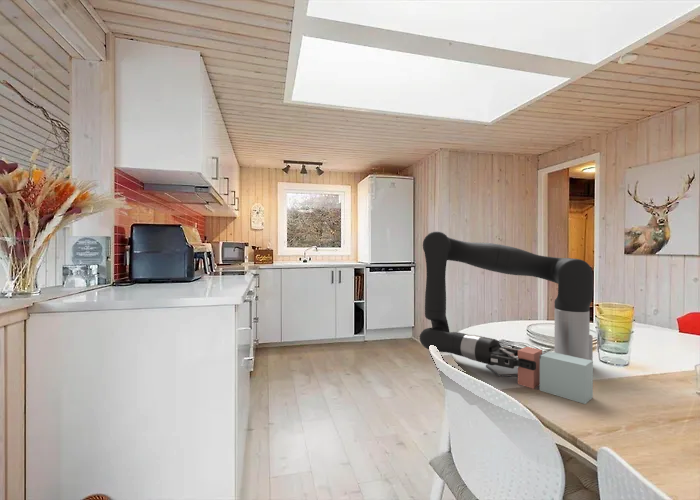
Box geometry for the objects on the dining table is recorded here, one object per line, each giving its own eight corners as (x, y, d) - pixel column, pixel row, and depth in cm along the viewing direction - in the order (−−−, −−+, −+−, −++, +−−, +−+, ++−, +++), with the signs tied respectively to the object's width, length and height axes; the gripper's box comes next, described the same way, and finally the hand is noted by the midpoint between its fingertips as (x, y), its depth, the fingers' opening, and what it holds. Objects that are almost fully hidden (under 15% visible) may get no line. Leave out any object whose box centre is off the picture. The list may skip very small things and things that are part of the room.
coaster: (510, 365, 105) (510, 363, 105) (526, 375, 97) (526, 373, 97) (485, 366, 104) (485, 364, 104) (499, 376, 96) (499, 374, 96)
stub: (517, 383, 91) (517, 350, 91) (526, 378, 94) (526, 346, 94) (533, 388, 88) (533, 354, 88) (542, 383, 91) (542, 349, 91)
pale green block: (535, 389, 87) (535, 354, 87) (544, 383, 91) (544, 350, 91) (585, 404, 79) (585, 365, 79) (592, 397, 83) (592, 360, 82)
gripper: (467, 340, 97) (528, 355, 84) (492, 332, 107) (550, 344, 94) (467, 366, 97) (528, 385, 84) (492, 356, 107) (550, 371, 94)
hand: (540, 363), depth 89 cm, fingers closed on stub, 5 cm apart
